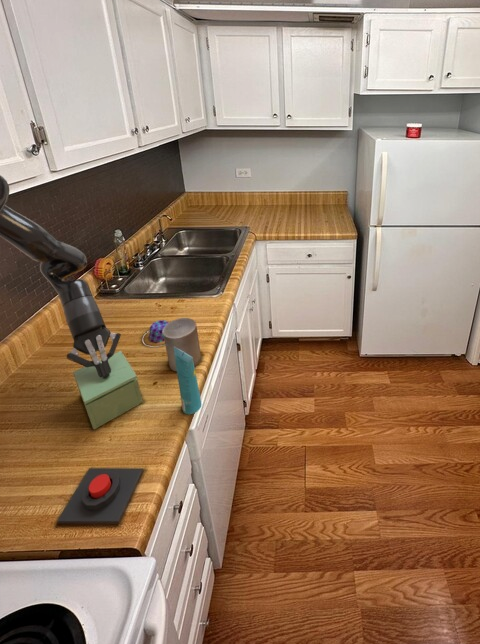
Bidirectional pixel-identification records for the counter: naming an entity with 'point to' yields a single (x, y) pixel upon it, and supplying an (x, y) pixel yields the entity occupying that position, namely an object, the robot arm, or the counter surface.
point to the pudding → (156, 332)
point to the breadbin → (113, 403)
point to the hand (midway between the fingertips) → (106, 376)
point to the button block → (102, 498)
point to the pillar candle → (182, 340)
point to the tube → (187, 382)
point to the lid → (97, 386)
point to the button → (100, 486)
